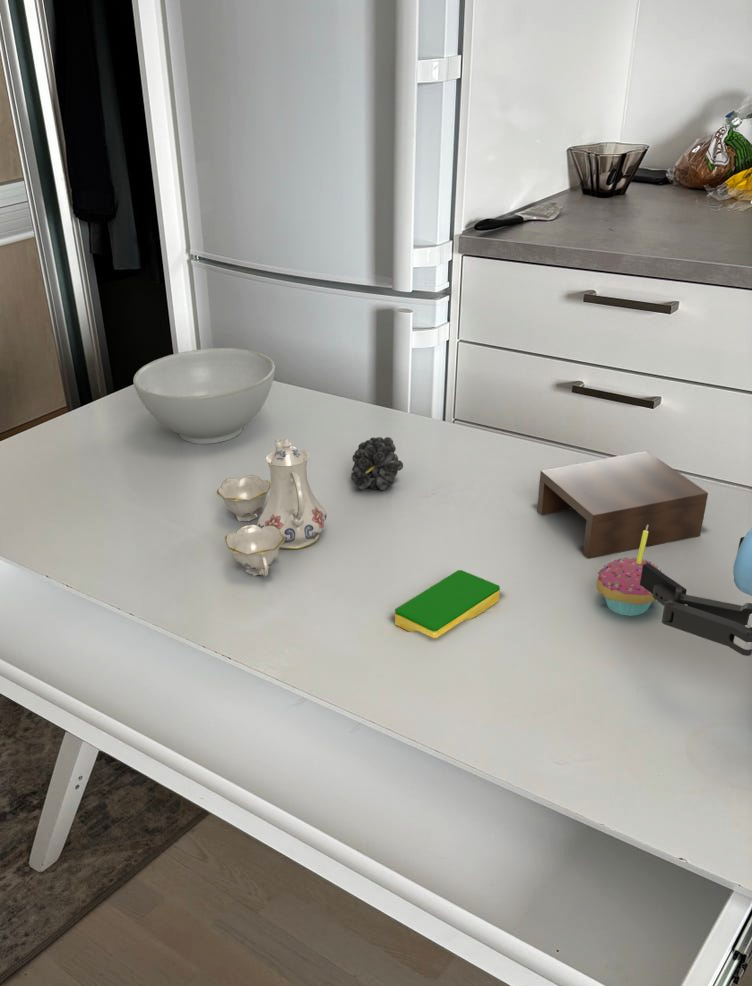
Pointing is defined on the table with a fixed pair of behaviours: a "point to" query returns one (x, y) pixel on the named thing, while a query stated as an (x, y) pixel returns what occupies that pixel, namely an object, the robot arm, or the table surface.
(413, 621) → the dish sponge
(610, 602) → the cupcake
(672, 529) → the shelf
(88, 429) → the table surface
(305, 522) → the chinaware
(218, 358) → the decorative bowl
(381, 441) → the fruit
